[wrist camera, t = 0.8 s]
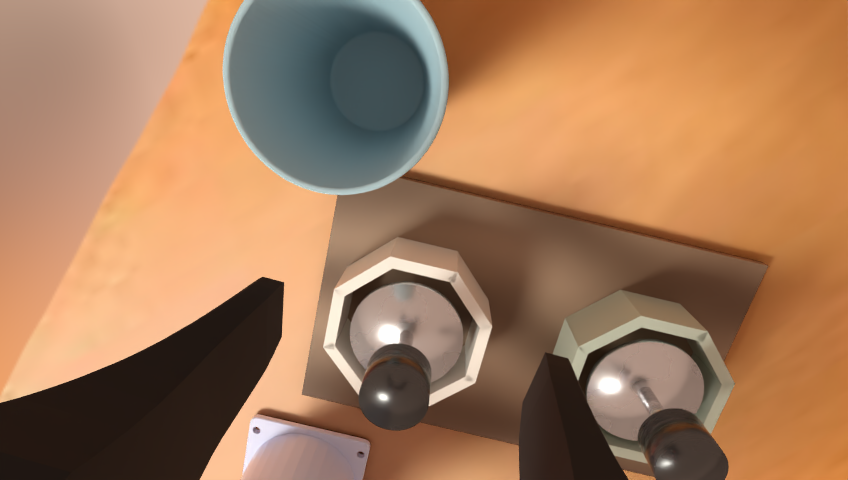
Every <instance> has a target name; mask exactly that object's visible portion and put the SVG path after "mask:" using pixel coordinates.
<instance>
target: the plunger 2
mask: <svg viewBox="0 0 848 480" xmlns="http://www.w3.org/2000/svg"><path fill="white" fill-rule="evenodd" d="M703 394H704V381H703V377H702V373H701V371H700V369H699V367H698V366H697V364H696V363H695V361H694V360H693V359H692V358H691V357H690V356H689V355H688V354H687V353H686V352H685V351H684V350H683V349H681V348H679V347H678V346H676V345H674V344H672V343H669V342H666V341H663V340H657V339H639V340H633V341H629V342H626V343H623V344H621V345H618V346H616V347H614V348H613V349H611V350H609V351H608V352H607V353H605V354H604V355H603V356H602V357H601V358H600V359H599V360H598V361H597V362H596V363H595V365H594V366H593V368H592V369H591V371H590V374H589V376H588V379H587V382H586V400H587V402H588V404H589V406H590V409H591V411H592V413H593V415H594V417H595V419H596V421H597V423H598V424H599V425H600V426H601V427H602V428H604V429H605V430H606V431H608V432H609V433H611V434H613V435H615V436H617V437H620V438H623V439H628V440H634V441H638V444H639V446H640V449H641V451H642V452H643V454H644V456H645V458H646V460H647V462H648V464H649V466H650V468H651V470H652V472H653V474H654V476H655V478H656V480H725V478H726V476H727V473H728V460H727V458H726V456H725V454H724V453H723V451H722V450H721V448H720V447H719V446H718V444H717V443H716V441H715V440H714V439H713V437H712V436H711V434H710V433H709V432H708V430H707V429H706V428H705V426H704V425H703V423H702V422H701V421H700V419H699V418H698V417H697V416H696V415H695V414H696V412H697V411H698V409H699V407H700V405H701V402H702V399H703Z"/></svg>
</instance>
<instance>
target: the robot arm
mask: <svg viewBox="0 0 848 480" xmlns="http://www.w3.org/2000/svg"><path fill="white" fill-rule="evenodd" d="M283 295H284V282H280V281H277V280H273V279H269V278H265V277H261V278H260V279H258V280H256V281H255V282H253V283H252V284H251V285H249V286H248V287H246V288H245V289H243V290H242V291H240V292H239V293H237V294H236V295H235V296H233V297H232V298H230V299H229V300H227V301H226V302H224V303H223V304H221V305H220V306H218V307H217V308H215V309H213V310H212V311H210V312H209V313H207V314H206V315H204V316H202V317H201V318H199V319H198V320H196V321H195V322H193V323H191V324H189V325H188V326H186V327H184V328H183V329H181V330H179V331H177V332H176V333H174V334H172V335H170V336H169V337H167V338H165V339H163V340H162V341H160V342H158V343H156V344H154V345H152V346H150V347H148V348H146V349H144V350H142V351H140V352H138V353H136V354H134V355H132V356H130V357H128V358H126V359H123V360H121V361H119V362H116V363H114V364H112V365H109V366H107V367H104V368H102V369H99V370H97V371H94V372H92V373H90V374H87V375H85V376H82V377H80V378H77V379H74V380H71V381H69V382H66V383H63V384H60V385H57V386H55V387H52V388H48V389H45V390H42V391H39V392H36V393H33V394H30V395H27V396H23V397H20V398H17V399H13V400H10V401H6V402H2V403H0V480H200V478H201V476H202V474H203V472H204V470H205V468H206V466H207V464H208V462H209V460H210V458H211V456H212V454H213V453H214V451H215V449H216V448H217V446H218V444H219V442H220V441H221V439H222V437H223V436H224V434H225V433H226V431H227V430H228V428H229V427H230V425H231V423H232V422H233V420H234V419H235V417H236V416H237V414H238V413H239V411H240V409H241V408H242V406H243V405H244V403H245V402H246V400H247V399H248V397H249V395H250V394H251V392H252V391H253V389H254V388H255V386H256V384H257V383H258V381H259V380H260V378H261V377H262V375H263V373H264V372H265V370H266V368H267V366H268V364H269V362H270V360H271V358H272V356H273V354H274V352H275V350H276V348H277V346H278V343H279V341H280V339H281V337H282V317H283ZM255 427H258V428H259V429H260V430H257V429H256V428H255ZM369 450H370V442H369V441H368V440H366V439H363V438H359V437H354V436H350V435H346V434H341V433H337V432H333V431H329V430H324V429H320V428H316V427H311V426H307V425H303V424H299V423H294V422H290V421H286V420H281V419H277V418H273V417H269V416H264V415H259V414H257V415H254V416H253V418H252V419H251V421H250V427H249V434H248V441H247V447H246V454H245V461H244V468H243V475H242V477H241V479H240V480H363V476H364V472H365V467H366V463H367V459H368V455H369ZM359 451H362V452H363V453H364V454H360V453H359ZM519 470H520V480H628V478H627V476H626V475H625V473H624V471H623V470H622V468H621V466H620V465H619V463H618V461H617V459H616V457H615V456H614V454H613V452H612V450H611V448H610V447H609V445H608V443H607V441H606V439H605V437H604V435H603V433H602V431H601V429H600V427H599V425H598V423H597V421H596V419H595V417H594V415H593V413H592V411H591V409H590V406H589V404H588V402H587V400H586V398H585V395H584V393H583V391H582V389H581V386H580V384H579V382H578V379H577V377H576V375H575V372H574V370H573V367H572V365H571V363H570V361H569V359H568V358H565V357H561V356H558V355H554V354H550V353H546V352H545V354H544V356H543V358H542V360H541V363H540V365H539V367H538V369H537V371H536V374H535V376H534V378H533V380H532V382H531V385H530V387H529V389H528V391H527V393H526V396H525V398H524V400H523V402H522V411H521V421H520V432H519Z"/></svg>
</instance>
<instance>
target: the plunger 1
mask: <svg viewBox="0 0 848 480" xmlns="http://www.w3.org/2000/svg"><path fill="white" fill-rule="evenodd" d="M350 341H351V345H352V349H353V351H354V354H355V356H356V358H357V359H358V361H359V362H360V364H361V365H362V366H363V367H364V368H365V369H366V372H365V375H364V378H363V381H362V384H361V388H360V391H359V405H360V408H361V410H362V412H363V414H364V415H365V417H366V418H367V419H368V420H369V421H370V422H372V423H373V424H375V425H376V426H378V427H381V428H384V429H387V430H404V429H408V428H411V427H413V426H415V425H416V424H418V423H419V422H420V421H421V420H422V419H423V418H424V416H425V415H426V413H427V410H428V407H429V398H430V386H431V382H433V381H436V380H437V379H439V378H441V377H442V376H444V375H445V374H446V373H447V372H448V371H449V370H450V369H451V368H452V367H453V366H454V364H455V363H456V361H457V360H458V358H459V356H460V353H461V350H462V345H463V327H462V322H461V319H460V316H459V314H458V312H457V310H456V308H455V307H454V306H453V304H452V303H451V302H450V301H449V300H448V299H447V298H446V297H445V296H444V295H443V294H442V293H440V292H439V291H437V290H435V289H434V288H432V287H429V286H427V285H424V284H421V283H416V282H407V281H402V282H394V283H389V284H386V285H383V286H381V287H379V288H377V289H375V290H373V291H372V292H370V293H369V294H368V295H367V296H366V297H365V298H364V299H363V300H362V301H361V302H360V304H359V305H358V307H357V309H356V311H355V313H354V315H353V318H352V321H351V326H350Z"/></svg>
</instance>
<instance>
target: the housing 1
mask: <svg viewBox="0 0 848 480" xmlns="http://www.w3.org/2000/svg"><path fill="white" fill-rule="evenodd" d="M391 269H397V270H401V271H405V272H409V273H414V274H418V275H422V276H426V277H431V278H435V279H439V280H443V281H448V282H450V283H451V285H452V286H453V288H454V289H455V291H456V292H457V294H458V295H459V297H460V298H461V300H462V301H463V303H464V305H465V306H466V308H467V309H468V311H469V312H470V314H471V315H472V317H473V318H472V321H471V325H470V328H469V332H468V335H467V339H466V342H465V345H464V346H463V347H462V350H461V353H460V356H459V358H458V360H457V361H456V363H455V364H454V366H453V367H452V368H451V369H450V370H449V371H448V372H447V373H446V374H445V375H444V376H442V377H441V378H439V379H437V380H436V381H433V382H431V386H430V398H429V406H431V405H433V404H435V403H437V402H439V401H441V400H443V399H445V398H447V397H449V396H451V395H453V394H455V393H457V392H459V391H461V390H463V389H464V388H466V387H468V386H470V385H472V384H474V383H475V382H476V379H477V376H478V372H479V369H480V366H481V362H482V359H483V356H484V352H485V349H486V346H487V342H488V339H489V336H490V332H491V329H492V321H491V314H490V307H489V300H488V298H487V297H486V295H485V294H484V292H483V291H482V289H481V287H480V286H479V284H478V283H477V281H476V279H475V278H474V276H473V275H472V273H471V272H470V270H469V268H468V267H467V265H466V264H465V262H464V261H463V259H462V257H461V256H460V254H459V253H458V251H455V250H451V249H447V248H443V247H438V246H434V245H430V244H426V243H421V242H417V241H413V240H409V239H405V238H400V237H397V238H395V239H393V240H391V241H390V242H388V243H386V244H385V245H383V246H381V247H380V248H378V249H376V250H375V251H373V252H371V253H369V254H368V255H366V256H364V257H363V258H361V259H359V260H358V261H356V262H354V263H353V264H351V265H349V266H347V268H346V270H345V271H344V273H343V275H342V277H341V278H340V280H339V282H338V283H337V285H336V287H335V288H334V292H333V298H332V303H331V308H330V314H329V319H328V324H327V330H326V335H325V340H324V345H323V348H324V349H325V351H326V352H327V353H328V355H329V356H330V357H331V359H332V360H333V361H334V363H335V364H336V365H337V367H338V368H339V369H340V371H341V372H342V373H343V375H344V376H345V378H346V379H347V380H348V382H349V383H350V384H351V386H352V387H353V388H354V390H355V391H356V392H357V394H358V395H359V391H360V388H361V384H362V381H363V378H364V375H365V372H366V369H365V368H364V367H363V366H362V365H361V364H360V362H359V361H358V359H357V358H356V356H355V354H354V351H353V349H352V345H351V341H350V326H351V322H350V320H349V319H348V314H349V309H350V304H351V299H352V294H353V291H354V290H356V289H358V288H360V287H361V286H363V285H365V284H367V283H368V282H370V281H372V280H373V279H375V278H377V277H379V276H380V275H382V274H384V273H386V272H387V271H389V270H391Z"/></svg>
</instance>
